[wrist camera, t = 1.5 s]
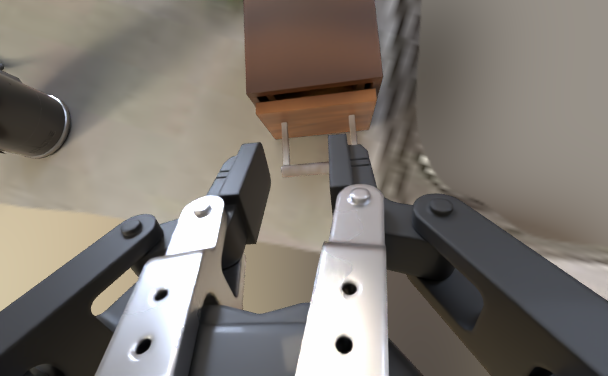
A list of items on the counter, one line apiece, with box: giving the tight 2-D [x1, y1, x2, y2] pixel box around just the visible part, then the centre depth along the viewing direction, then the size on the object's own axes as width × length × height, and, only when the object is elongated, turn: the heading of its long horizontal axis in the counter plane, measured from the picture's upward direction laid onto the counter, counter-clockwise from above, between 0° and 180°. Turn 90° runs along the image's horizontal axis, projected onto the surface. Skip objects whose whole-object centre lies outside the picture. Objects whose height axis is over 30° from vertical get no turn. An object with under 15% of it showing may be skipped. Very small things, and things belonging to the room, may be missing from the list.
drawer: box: [256, 83, 377, 177], centre depth 30 cm, size 19×11×8 cm, turn 3°
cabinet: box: [243, 0, 383, 106], centre depth 31 cm, size 15×13×10 cm
